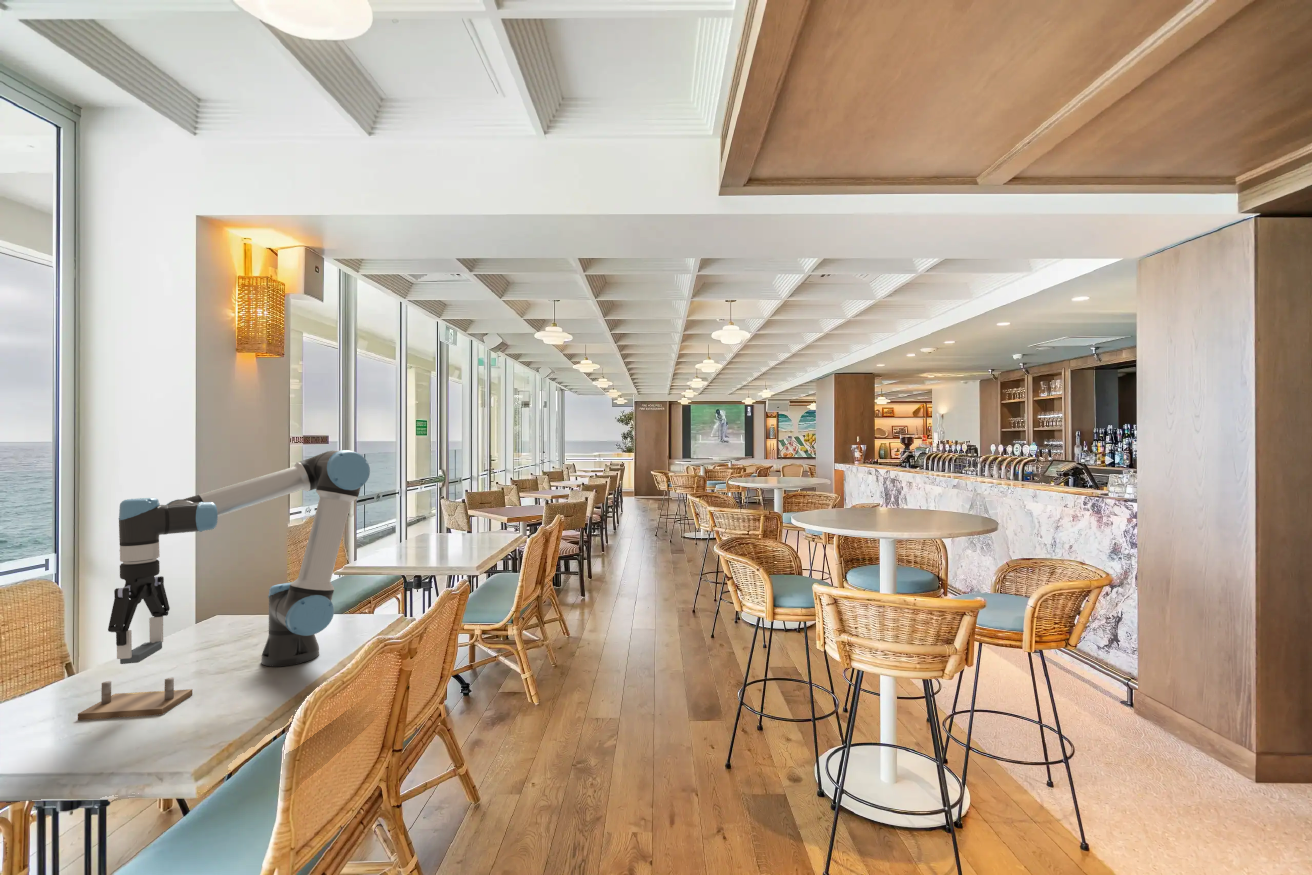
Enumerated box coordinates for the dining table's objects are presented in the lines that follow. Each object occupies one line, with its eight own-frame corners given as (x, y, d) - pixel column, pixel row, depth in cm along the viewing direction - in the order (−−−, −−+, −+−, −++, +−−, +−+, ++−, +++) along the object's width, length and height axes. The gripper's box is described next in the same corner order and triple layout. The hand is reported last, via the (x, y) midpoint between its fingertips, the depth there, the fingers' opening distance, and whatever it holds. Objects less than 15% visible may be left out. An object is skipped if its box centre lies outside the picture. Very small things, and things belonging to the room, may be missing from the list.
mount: (192, 694, 158) (192, 669, 158) (162, 714, 146) (162, 687, 146) (114, 699, 155) (115, 673, 155) (77, 720, 143) (78, 692, 144)
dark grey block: (119, 664, 145) (119, 656, 145) (144, 650, 155) (144, 642, 155) (138, 662, 146) (138, 654, 146) (162, 648, 156) (162, 640, 156)
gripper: (154, 553, 161) (155, 636, 161) (85, 571, 138) (87, 668, 138) (185, 551, 162) (186, 634, 162) (122, 569, 139) (123, 665, 139)
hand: (141, 650), depth 150 cm, fingers closed on dark grey block, 11 cm apart
